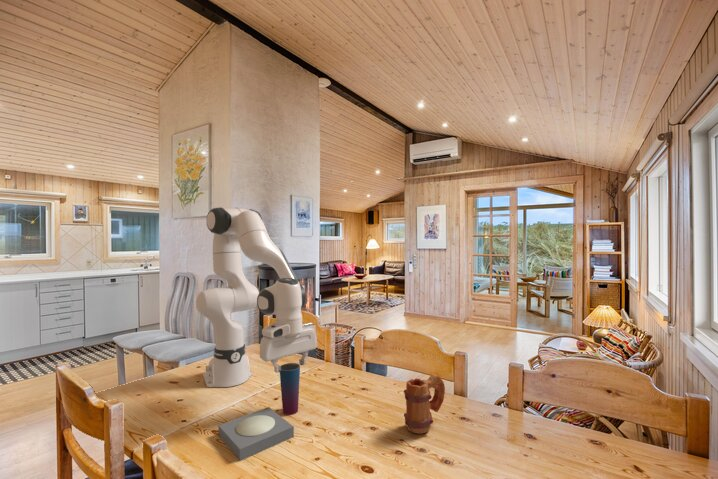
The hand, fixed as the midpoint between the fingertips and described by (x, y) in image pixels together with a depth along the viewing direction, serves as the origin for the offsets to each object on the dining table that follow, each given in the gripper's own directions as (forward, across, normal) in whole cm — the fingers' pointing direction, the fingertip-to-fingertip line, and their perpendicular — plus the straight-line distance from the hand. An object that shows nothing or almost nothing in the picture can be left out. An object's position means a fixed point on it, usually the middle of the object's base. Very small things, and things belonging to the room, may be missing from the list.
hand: (290, 368), depth 114 cm
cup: (+15, 0, -1) cm, 15 cm away
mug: (+15, -25, +36) cm, 47 cm away
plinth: (+15, +15, +5) cm, 22 cm away
